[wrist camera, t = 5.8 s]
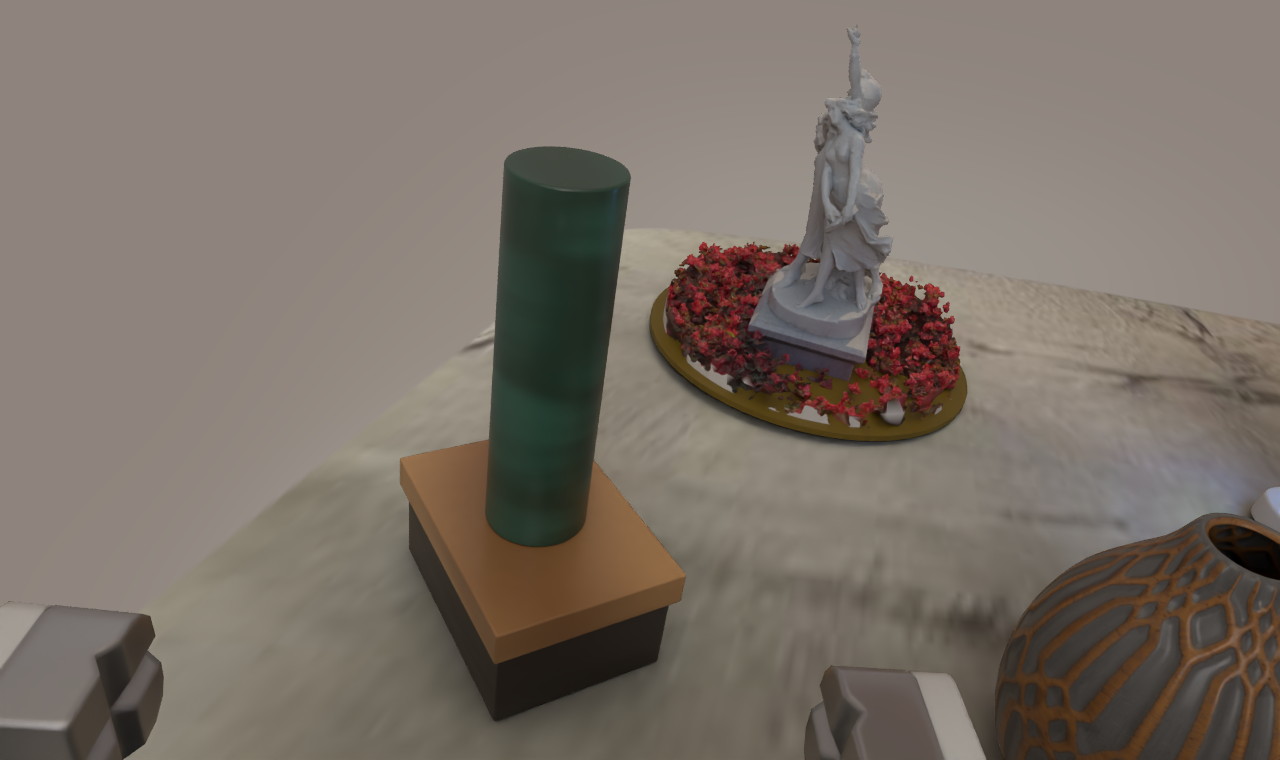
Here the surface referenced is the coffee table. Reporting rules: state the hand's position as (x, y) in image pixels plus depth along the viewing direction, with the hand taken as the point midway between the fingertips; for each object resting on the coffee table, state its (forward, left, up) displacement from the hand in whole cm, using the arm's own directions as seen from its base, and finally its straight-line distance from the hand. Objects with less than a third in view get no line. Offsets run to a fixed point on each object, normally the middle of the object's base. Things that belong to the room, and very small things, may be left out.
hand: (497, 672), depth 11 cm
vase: (-17, +2, -11) cm, 20 cm away
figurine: (-24, -20, -11) cm, 34 cm away
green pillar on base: (-6, -10, -11) cm, 16 cm away
